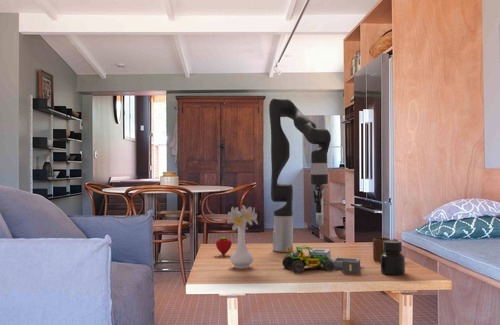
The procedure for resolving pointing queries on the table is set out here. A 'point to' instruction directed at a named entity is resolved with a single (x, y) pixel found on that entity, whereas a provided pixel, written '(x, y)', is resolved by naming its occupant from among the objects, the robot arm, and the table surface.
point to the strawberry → (223, 245)
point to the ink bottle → (392, 258)
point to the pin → (319, 216)
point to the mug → (379, 248)
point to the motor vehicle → (305, 260)
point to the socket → (320, 252)
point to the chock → (351, 266)
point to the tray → (340, 262)
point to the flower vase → (241, 235)
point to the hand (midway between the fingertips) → (319, 212)
